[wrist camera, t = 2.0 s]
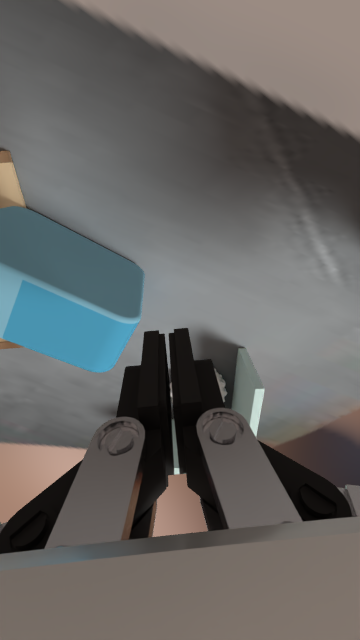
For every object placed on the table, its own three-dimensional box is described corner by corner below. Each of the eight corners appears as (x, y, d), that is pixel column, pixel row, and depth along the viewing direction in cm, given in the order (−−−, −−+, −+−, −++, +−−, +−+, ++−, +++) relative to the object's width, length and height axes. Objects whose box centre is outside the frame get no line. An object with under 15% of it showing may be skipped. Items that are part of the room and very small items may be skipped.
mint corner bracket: (244, 345, 33) (264, 388, 26) (235, 419, 38) (249, 470, 31) (141, 347, 32) (135, 392, 25) (147, 422, 38) (143, 475, 31)
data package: (5, 249, 25) (-103, 302, 15) (19, 202, 24) (-90, 224, 13) (126, 305, 29) (110, 381, 18) (146, 268, 27) (141, 327, 17)
